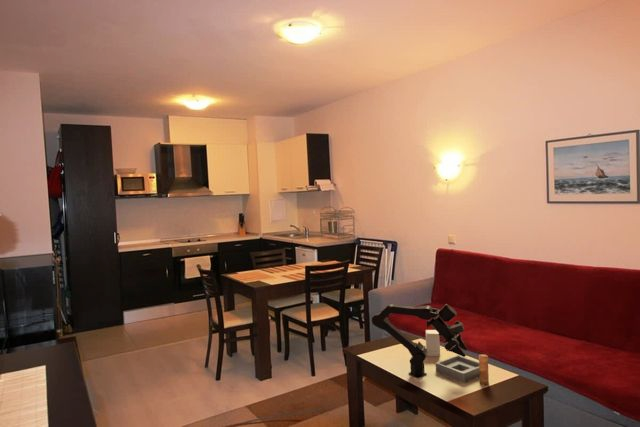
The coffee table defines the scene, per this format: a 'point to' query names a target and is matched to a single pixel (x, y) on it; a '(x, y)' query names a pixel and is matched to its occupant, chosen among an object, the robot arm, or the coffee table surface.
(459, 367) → the socket box
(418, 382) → the coffee table surface
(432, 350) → the supplement box
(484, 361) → the orange peg
